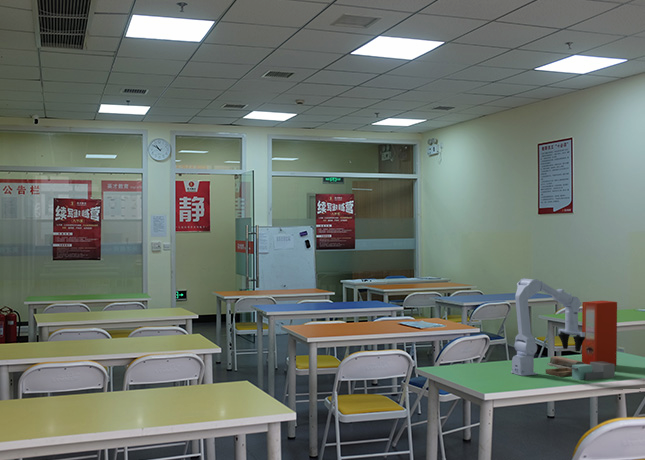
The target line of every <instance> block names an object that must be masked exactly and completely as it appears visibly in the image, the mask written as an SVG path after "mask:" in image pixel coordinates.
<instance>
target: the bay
mask: <svg viewBox="0 0 645 460" xmlns="http://www.w3.org/2000/svg"><path fill="white" fill-rule="evenodd" d="M590 365H592V372H591V373H585V379H584V380H585V381H589V380H590V381H592V380H601V379H610V378H615V375H616V374H615V373H616V372H615V371H616V369H615V368H616V366H615V364H613V363H608V362H603V361H597V362H590Z"/></svg>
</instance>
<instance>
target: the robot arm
mask: <svg viewBox="0 0 645 460" xmlns="http://www.w3.org/2000/svg"><path fill="white" fill-rule="evenodd" d="M539 292H543V293H545V294H547V295H549V296H552V300H554V301H556V302H557V303H560V304H561V305H562V306H563V307H564V308H565V309H564V310H565V313H564V315H565V317H564V318H565V319H564V321H565V322H564V324H565V325H564V328H558V338H559V339H560V341H561V345H562V348H563V350H567V349H568V347H569V339H570V336H571V335H572V336H573V341H574V349H575V352H580V351H581V350H582V343H583V341H584V339H585V332H582V330H581V331H580V330H579V312H580V308H581V305H582V302H581V300H580V298H578V296H573V295H572V294H571V293H569V292H566V291H565V289H563V288H558V289H555V288H553V287H552V286H550V285H548V284H546V283H545V282H544V281H542V280H539V279H536V278H534V279H533V278H532V279H531V278H525V277H524V278H520V280H519V281H518V282H517V283H516V291H515V295H514V297H515V298H514V299H515V309H516V320H517V331H518V333H517V334H516V336H515V337H514V339H515V341H514V350H515V352H516V354H515V355H513V357H512V360H511V371H510V373H511V374H514V375H518V376H523V377H526V376H534V375H538V372H536V371H535V372H534V369H535V368H534V367H535V366H534V365H535V362H534V358H535V357H534V356H535V354H536V353H537V350H538V345H537V343H536V341H535V337H534V335H533V334H532V331H531V319H530V310H529V299H530V298H532V297H533V296H534V295H536V294H538V293H539Z"/></svg>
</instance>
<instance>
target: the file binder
mask: <svg viewBox="0 0 645 460" xmlns="http://www.w3.org/2000/svg"><path fill="white" fill-rule="evenodd" d="M581 305H582V307H581V308H582V311H581V312H582V317H581V318H582V321H581V332H585V339H584V341H583V343H582V345H581V362H584V363H585V364H588V365H590V362H597V361H603V362H608V363H613V364H615V367H617V363H618V361H617V357H618V356H617V352H618V349H617V348H618V347H617V345H618V343H617V342H618V341H617V340H618V302H617V301H612V300H611V301H610V300H594V301H593V300H591V301H582V302H581Z"/></svg>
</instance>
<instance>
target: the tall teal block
mask: <svg viewBox="0 0 645 460" xmlns="http://www.w3.org/2000/svg"><path fill="white" fill-rule="evenodd" d="M571 369H572V376H571V378H572V379H574V380H577V381H582V380H585V373H591V372H592V365H588V364H578V365H572V367H571Z"/></svg>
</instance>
